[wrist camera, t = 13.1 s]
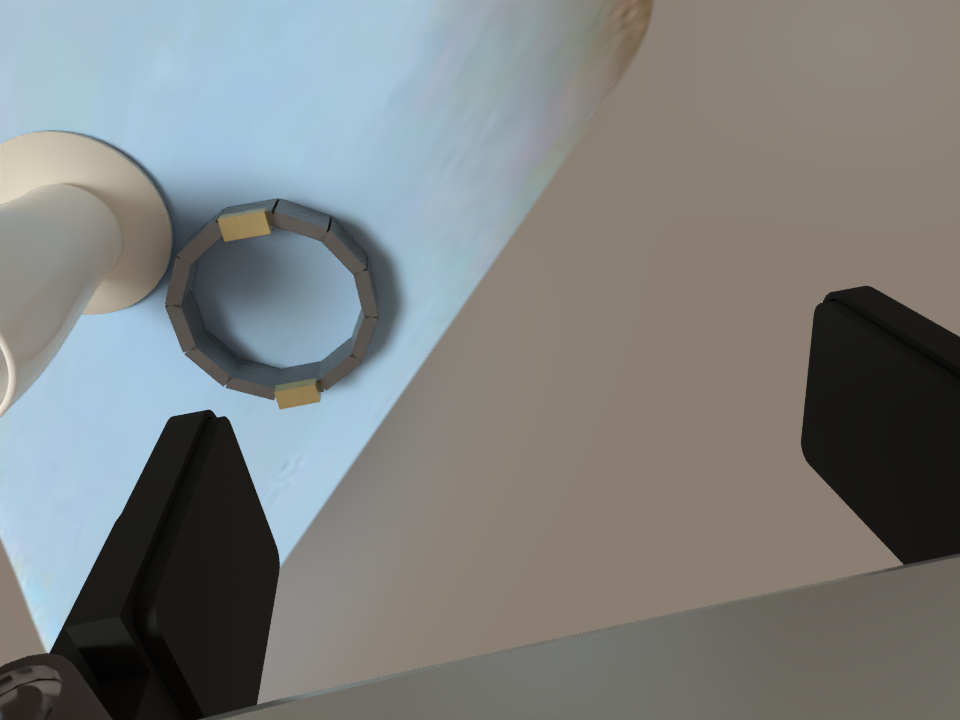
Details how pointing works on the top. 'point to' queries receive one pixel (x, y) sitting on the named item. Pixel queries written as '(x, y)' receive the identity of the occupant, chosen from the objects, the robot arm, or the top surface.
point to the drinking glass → (48, 276)
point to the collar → (247, 375)
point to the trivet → (112, 181)
